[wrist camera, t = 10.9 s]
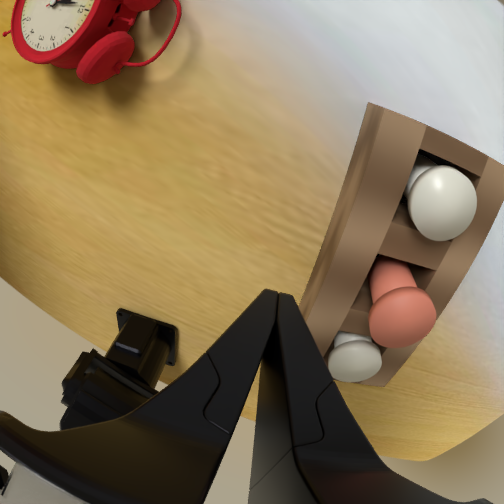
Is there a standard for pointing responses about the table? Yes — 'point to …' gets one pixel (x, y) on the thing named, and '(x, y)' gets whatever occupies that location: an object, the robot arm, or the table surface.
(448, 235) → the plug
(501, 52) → the table surface
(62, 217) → the table surface
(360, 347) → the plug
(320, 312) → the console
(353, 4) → the table surface
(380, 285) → the red plug
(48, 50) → the alarm clock
